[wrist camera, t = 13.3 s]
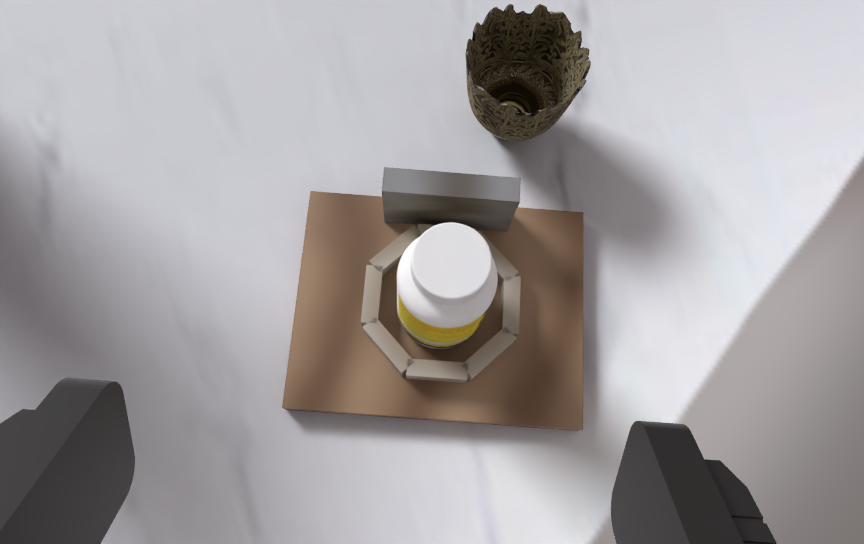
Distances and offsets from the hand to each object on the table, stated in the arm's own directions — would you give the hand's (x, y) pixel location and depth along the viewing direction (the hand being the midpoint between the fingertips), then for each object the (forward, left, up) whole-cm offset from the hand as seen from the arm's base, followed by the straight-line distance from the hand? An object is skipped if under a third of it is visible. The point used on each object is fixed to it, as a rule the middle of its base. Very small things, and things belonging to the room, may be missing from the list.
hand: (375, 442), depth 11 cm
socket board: (+2, +10, -31) cm, 32 cm away
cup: (+6, +24, -31) cm, 39 cm away
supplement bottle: (+2, +9, -30) cm, 31 cm away
